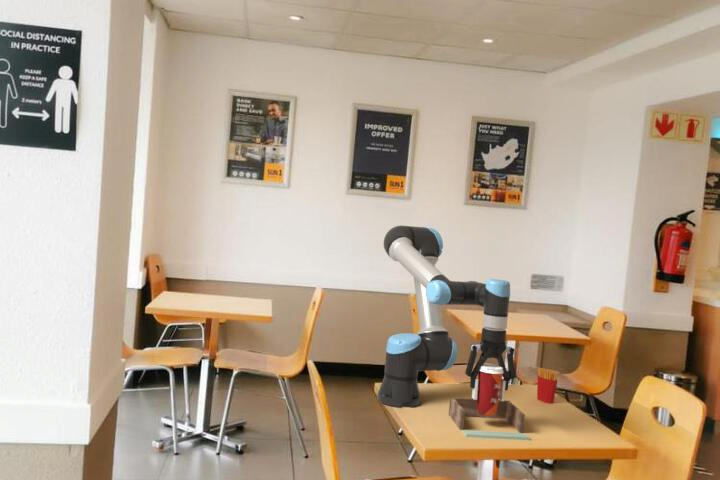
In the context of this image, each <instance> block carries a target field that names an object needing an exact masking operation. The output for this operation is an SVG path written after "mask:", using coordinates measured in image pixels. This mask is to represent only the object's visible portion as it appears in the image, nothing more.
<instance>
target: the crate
mask: <svg viewBox="0 0 720 480" xmlns="http://www.w3.org/2000/svg"><path fill="white" fill-rule="evenodd" d="M448 410H449V411H448V416H449V417H450V418H451V420H452V421H453V422H454V425H456V426H457V427H458V429H459V430H460V431H461V430H464V427H465V426H464V425H465V424H464V423H465V418H466V417H467V418H483V419H497V420H498V419H500V420H501V419H502V420H506V421H507V422H508V423H509V424H510V425H511V426H512V427H513V428H514V429H515V430H516V431H517V433H523V434H524V427H525V413H524V412H523V411H522V410H520V409H519V408H518V407H517V406H516V405H515V404H513V402H511V401H510V400H506V399H504V401H501V400H500V399H499V400H498V406H497V412H496V415H494V416H487V415H482V414H480V413H478V412H477V400H474V399H473V398H472V397H470V398H469V397H453V396H450V399H449V409H448Z"/></svg>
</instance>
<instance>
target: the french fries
mask: <svg viewBox="0 0 720 480" xmlns="http://www.w3.org/2000/svg"><path fill="white" fill-rule="evenodd" d="M537 373H538V375H537V380H536V381H537V386H536V387H537V389H536V391H537V392H536V399H537V400H538V401H540V402H543V403H547V404H554V401H555V395H556V390H557V385H558V379H557V375H558V374H557V373H556V371H554V370H550V369H549V368H546V369H545V368H544V367H540V368H538V367H537Z"/></svg>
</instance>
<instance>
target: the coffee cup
mask: <svg viewBox="0 0 720 480" xmlns="http://www.w3.org/2000/svg"><path fill="white" fill-rule="evenodd" d="M503 373H504V371H503V368H502V367H500V366H499V364H495V363H494V364H493V363H489V362H488V363H484V364H483V366H482V367H481V370H480V372H479V374H478V375H477V379H478V390H477V412H478V413H480V414H482V415H487V416H494V415H496V412H497V406H498V400H500V399H499V394H500V387H501V381H502V379H503V375H502V374H503Z"/></svg>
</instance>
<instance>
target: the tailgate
mask: <svg viewBox="0 0 720 480" xmlns="http://www.w3.org/2000/svg"><path fill="white" fill-rule="evenodd" d="M460 431H461V432H462V434H463V435H464V436H465V438H480V439H495V440H496V439H497V440H499V439H501V440H520V441H531V437H530V436H528V435H526V434H525V433H524V432H523V433H519V432H508V431H507V432H506V431H504V432H503V431H491V430H490V431H488V430H487V431H486V430H468V429H467V430H466V429H463V430H460Z"/></svg>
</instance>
